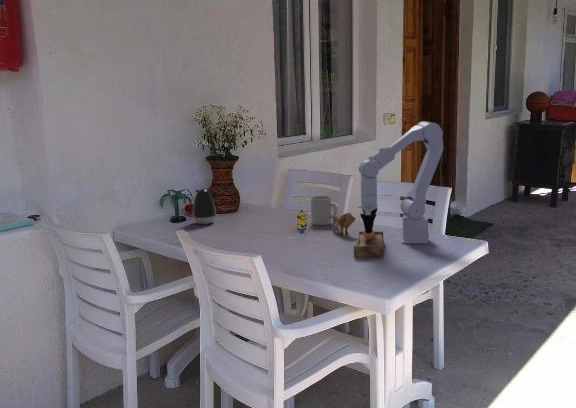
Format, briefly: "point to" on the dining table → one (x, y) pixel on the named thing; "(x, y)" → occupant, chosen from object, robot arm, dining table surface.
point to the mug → (322, 210)
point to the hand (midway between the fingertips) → (369, 230)
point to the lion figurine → (343, 222)
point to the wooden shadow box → (369, 246)
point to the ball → (368, 235)
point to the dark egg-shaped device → (204, 207)
